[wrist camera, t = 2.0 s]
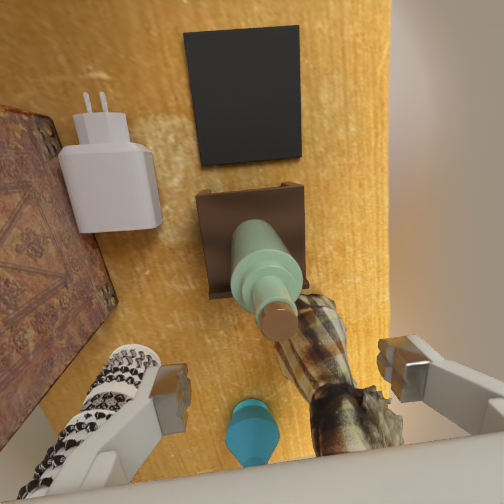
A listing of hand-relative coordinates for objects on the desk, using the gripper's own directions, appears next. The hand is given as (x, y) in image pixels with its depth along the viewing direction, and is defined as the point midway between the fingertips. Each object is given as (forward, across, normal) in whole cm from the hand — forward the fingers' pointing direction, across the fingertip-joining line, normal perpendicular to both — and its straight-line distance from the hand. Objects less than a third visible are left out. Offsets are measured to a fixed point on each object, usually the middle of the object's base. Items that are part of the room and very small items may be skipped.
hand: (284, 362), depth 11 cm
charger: (+27, +16, -10) cm, 33 cm away
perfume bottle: (+28, +3, +36) cm, 45 cm away
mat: (+27, -1, -16) cm, 31 cm away
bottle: (+20, 0, +1) cm, 20 cm away
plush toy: (+28, -7, +16) cm, 32 cm away
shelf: (+27, 0, 0) cm, 27 cm away
